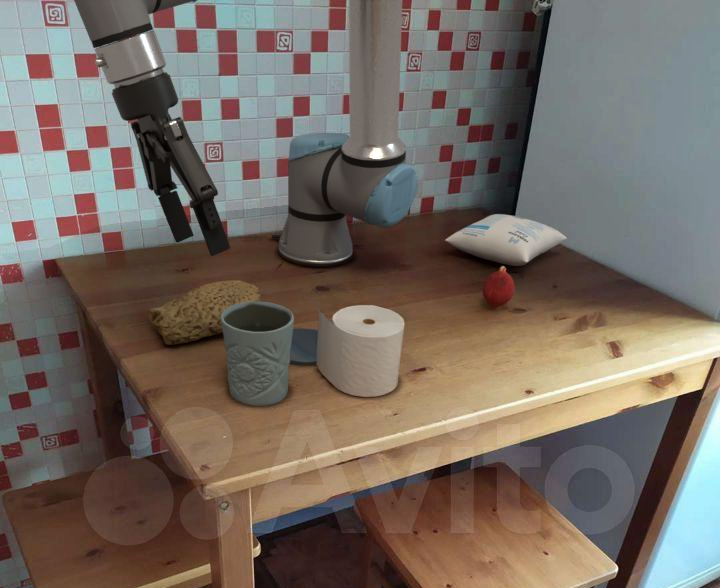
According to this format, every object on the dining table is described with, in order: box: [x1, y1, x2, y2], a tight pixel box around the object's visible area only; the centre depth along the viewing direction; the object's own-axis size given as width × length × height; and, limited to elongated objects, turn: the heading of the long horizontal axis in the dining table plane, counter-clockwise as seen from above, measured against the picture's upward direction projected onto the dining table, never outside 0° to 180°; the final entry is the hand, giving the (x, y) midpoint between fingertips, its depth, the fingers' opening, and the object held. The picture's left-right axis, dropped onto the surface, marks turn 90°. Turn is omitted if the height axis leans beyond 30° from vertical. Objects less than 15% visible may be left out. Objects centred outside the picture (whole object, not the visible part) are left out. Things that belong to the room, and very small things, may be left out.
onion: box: [482, 265, 515, 309], centre depth 140 cm, size 6×6×8 cm
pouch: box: [444, 213, 568, 267], centre depth 161 cm, size 8×19×20 cm
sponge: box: [148, 279, 262, 346], centre depth 125 cm, size 13×8×20 cm
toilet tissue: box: [315, 304, 406, 398], centre depth 114 cm, size 11×12×10 cm
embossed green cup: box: [221, 301, 295, 407], centre depth 109 cm, size 10×10×12 cm
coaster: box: [289, 328, 318, 366], centre depth 124 cm, size 12×12×1 cm
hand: (202, 245), depth 105 cm, fingers open, 13 cm apart
